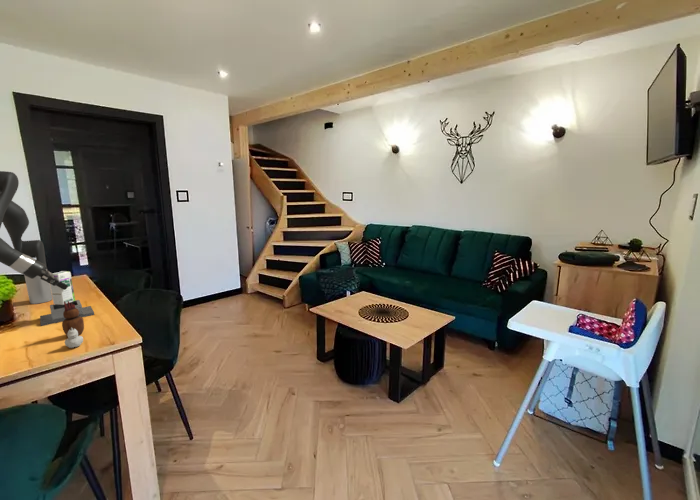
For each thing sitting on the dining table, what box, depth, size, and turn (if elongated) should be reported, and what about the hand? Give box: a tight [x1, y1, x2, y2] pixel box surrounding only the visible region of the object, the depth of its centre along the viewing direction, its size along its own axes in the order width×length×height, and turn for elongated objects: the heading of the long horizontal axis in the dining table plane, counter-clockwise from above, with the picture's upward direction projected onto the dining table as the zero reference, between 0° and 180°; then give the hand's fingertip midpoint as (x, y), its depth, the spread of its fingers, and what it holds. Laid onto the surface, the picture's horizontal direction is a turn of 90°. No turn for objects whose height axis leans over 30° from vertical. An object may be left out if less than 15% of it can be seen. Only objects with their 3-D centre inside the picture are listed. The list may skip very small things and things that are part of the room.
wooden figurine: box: [61, 301, 85, 337], centre depth 137 cm, size 7×6×15 cm
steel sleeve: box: [39, 299, 95, 327], centre depth 159 cm, size 13×19×6 cm
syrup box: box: [50, 270, 76, 305], centre depth 157 cm, size 6×6×14 cm
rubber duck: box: [64, 327, 84, 349], centre depth 128 cm, size 5×7×8 cm
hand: (66, 286), depth 158 cm, fingers closed on syrup box, 7 cm apart
